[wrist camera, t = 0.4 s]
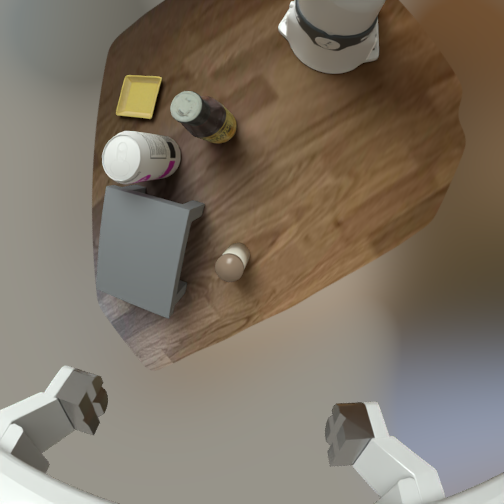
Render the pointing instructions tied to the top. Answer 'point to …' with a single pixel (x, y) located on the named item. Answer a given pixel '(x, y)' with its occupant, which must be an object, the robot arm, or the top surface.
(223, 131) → the sauce bottle
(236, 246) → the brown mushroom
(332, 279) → the top surface
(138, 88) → the yellow shallow tray
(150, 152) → the supplement can
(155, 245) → the footstool
